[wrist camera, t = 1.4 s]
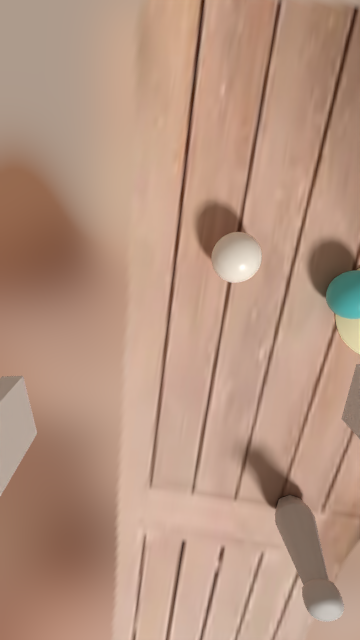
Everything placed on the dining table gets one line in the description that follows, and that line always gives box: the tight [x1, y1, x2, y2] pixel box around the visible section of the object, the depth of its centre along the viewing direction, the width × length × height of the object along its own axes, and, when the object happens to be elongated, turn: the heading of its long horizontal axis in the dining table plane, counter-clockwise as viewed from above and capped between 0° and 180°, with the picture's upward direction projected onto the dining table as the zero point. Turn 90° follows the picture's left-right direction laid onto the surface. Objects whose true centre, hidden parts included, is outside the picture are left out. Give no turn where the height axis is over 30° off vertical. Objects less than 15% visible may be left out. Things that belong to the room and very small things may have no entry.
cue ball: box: [211, 232, 262, 283], centre depth 29 cm, size 6×6×6 cm
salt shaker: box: [275, 495, 344, 621], centre depth 36 cm, size 6×6×13 cm
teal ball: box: [326, 270, 360, 319], centre depth 30 cm, size 6×6×6 cm
